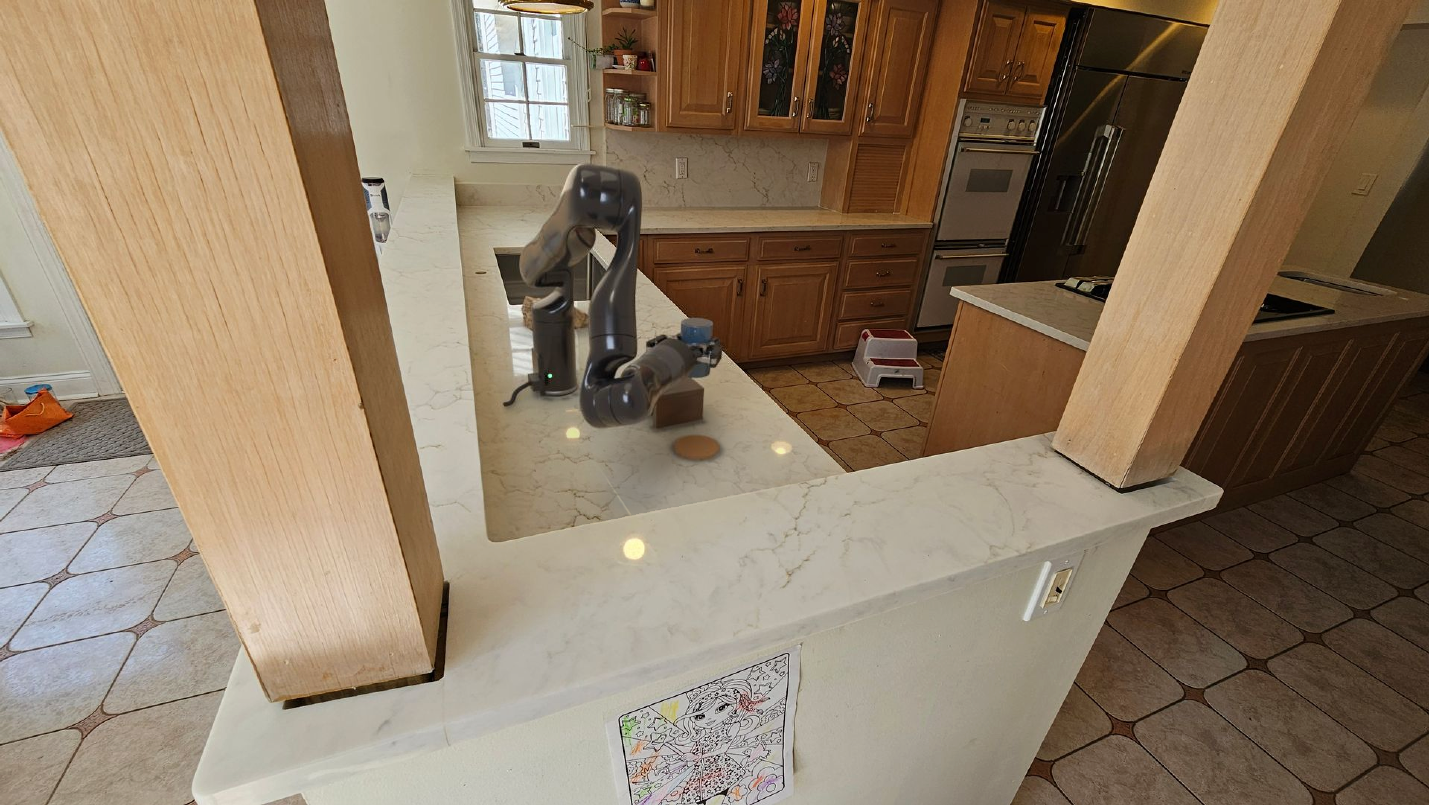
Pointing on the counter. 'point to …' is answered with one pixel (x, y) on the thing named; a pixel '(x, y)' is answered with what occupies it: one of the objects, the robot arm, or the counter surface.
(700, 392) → the shelf
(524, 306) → the rock
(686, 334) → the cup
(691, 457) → the coaster
